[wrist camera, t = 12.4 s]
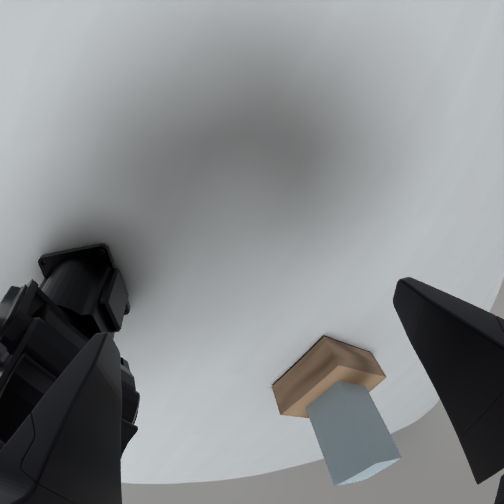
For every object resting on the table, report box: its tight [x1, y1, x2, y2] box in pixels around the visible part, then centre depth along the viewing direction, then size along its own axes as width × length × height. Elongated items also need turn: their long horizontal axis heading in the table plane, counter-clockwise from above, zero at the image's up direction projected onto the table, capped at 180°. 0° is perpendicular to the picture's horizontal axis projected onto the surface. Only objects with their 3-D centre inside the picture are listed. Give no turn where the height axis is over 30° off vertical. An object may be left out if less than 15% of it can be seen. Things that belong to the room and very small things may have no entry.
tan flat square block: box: [272, 336, 386, 418], centre depth 30 cm, size 9×9×4 cm
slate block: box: [306, 381, 402, 486], centre depth 25 cm, size 5×5×10 cm
